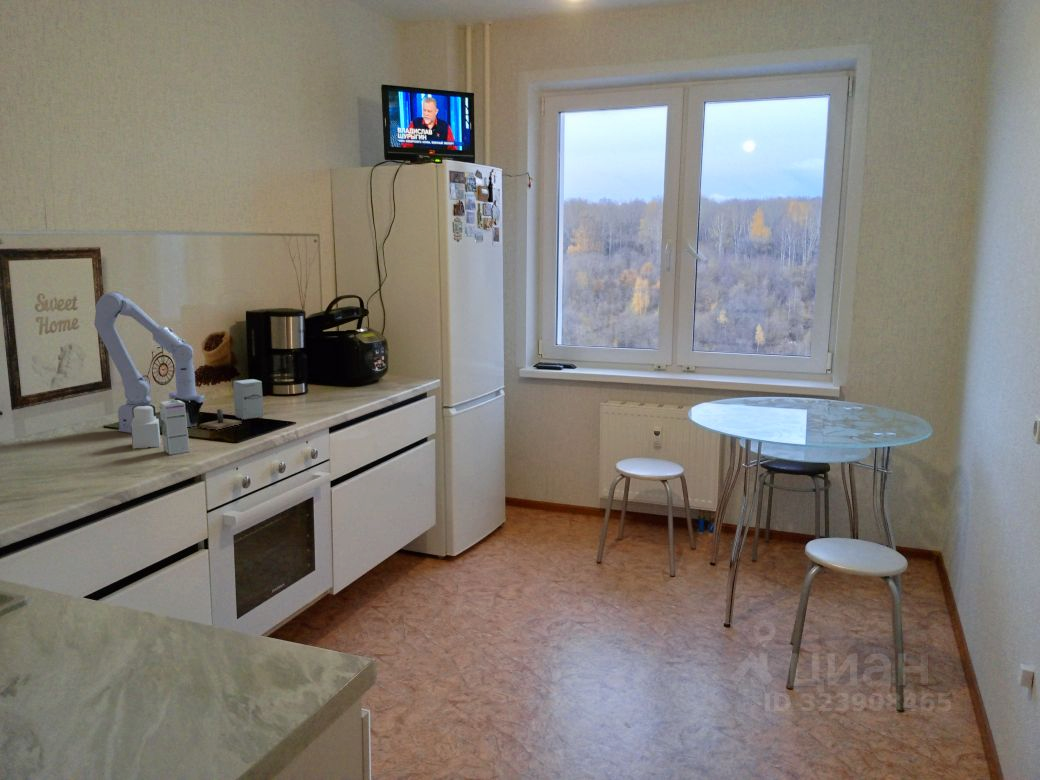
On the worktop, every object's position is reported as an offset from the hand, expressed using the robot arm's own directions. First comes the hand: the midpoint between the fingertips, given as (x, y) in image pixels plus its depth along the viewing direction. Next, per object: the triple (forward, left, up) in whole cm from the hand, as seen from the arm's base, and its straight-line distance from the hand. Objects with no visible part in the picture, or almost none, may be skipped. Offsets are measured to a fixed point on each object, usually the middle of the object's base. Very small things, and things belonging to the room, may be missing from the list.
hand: (188, 422), depth 253 cm
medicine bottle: (-23, -10, -2) cm, 25 cm away
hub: (0, 0, -1) cm, 1 cm away
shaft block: (+5, -9, -1) cm, 10 cm away
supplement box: (+20, -6, -2) cm, 21 cm away
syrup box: (-24, -24, -2) cm, 34 cm away
